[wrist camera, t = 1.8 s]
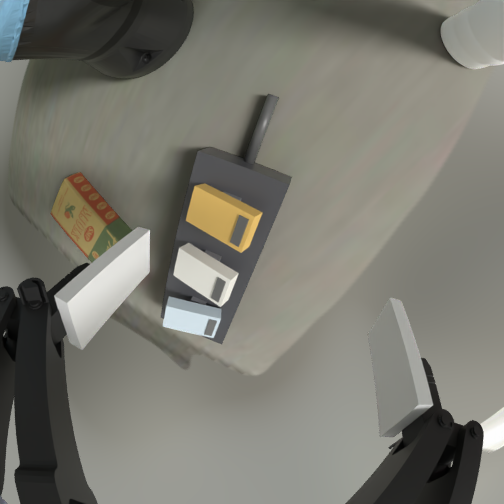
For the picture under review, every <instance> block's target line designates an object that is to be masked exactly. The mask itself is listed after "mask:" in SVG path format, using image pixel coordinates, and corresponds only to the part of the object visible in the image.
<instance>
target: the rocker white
mask: <svg viewBox="0 0 504 504" xmlns="http://www.w3.org/2000/svg"><path fill="white" fill-rule="evenodd" d="M238 274H239V273H237V272H236V271H234V270H232V269H231V268H229V267H227V266H226V265H224V264H223V263H221V262H219V261H218V260H216V259H214V258H213V257H211V256H209V255H208V254H206V253H205V252H203V251H201V250H200V249H198V248H197V247H195V246H193V245H192V244H190V243H187V244H185V245H183V246H182V247H180V248H179V251H178V255H177V260H176V264H175V269H174V274H173V275H174V276H175V277H177V278H178V279H180V280H181V281H182V282H184V283H185V284H187V285H188V286H190V287H191V288H193V289H194V290H196V291H197V292H199V293H200V294H202V295H203V296H205V297H206V298H208V299H209V300H211V301H212V302H214V303H215V304H217V305H218V306H220V307H221V306H222V305H223V304H224V303H225V302H226V301H228V300H229V297H230V295H231V292H232V289H233V287H234V284H235V282H236V279H237V277H238Z"/></svg>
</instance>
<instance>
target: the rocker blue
mask: <svg viewBox="0 0 504 504" xmlns="http://www.w3.org/2000/svg"><path fill="white" fill-rule="evenodd" d="M220 320H221V309H220V308H215V307H211V306H206V305H202V304H198V303H194V302H190V301H186V300H182V299H178V298H174V297H170V296H169V298H168V301H167V305H166V310H165V316H164V322H163V327H167V328H171V329H175V330H179V331H184V332H188V333H192V334H197V335H201V336H206V337H211V338H214V336H215V333H216V331H217V328H218V325H219V323H220Z"/></svg>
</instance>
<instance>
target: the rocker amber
mask: <svg viewBox="0 0 504 504" xmlns="http://www.w3.org/2000/svg"><path fill="white" fill-rule="evenodd" d="M261 215H262V212H261V211H259V210H257V209H255V208H253V207H251V206H249V205H247V204H245V203H243V202H241V201H239V200H237V199H235V198H233V197H231V196H229V195H227V194H225V193H223V192H221V191H219V190H217V189H215V188H213V187H211V186H209V185H207V184H205V183H204V184H200V185H196V186H194V190H193V194H192V198H191V201H190V205H189V209H188V213H187V217H186V221H187V222H189V223H191V224H192V225H194V226H196V227H197V228H199V229H201V230H203V231H204V232H206V233H208V234H209V235H211V236H213V237H215V238H216V239H218V240H220V241H221V242H223V243H225V244H227V245H228V246H230V247H232V248H233V249H235V250H237V251H239V252H240V253H241V252H243V251H244V250H246V249H247V248H248V247H249V246H250V243H251V241H252V238H253V236H254V233H255V231H256V228H257V226H258V223H259V220H260V218H261Z"/></svg>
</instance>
